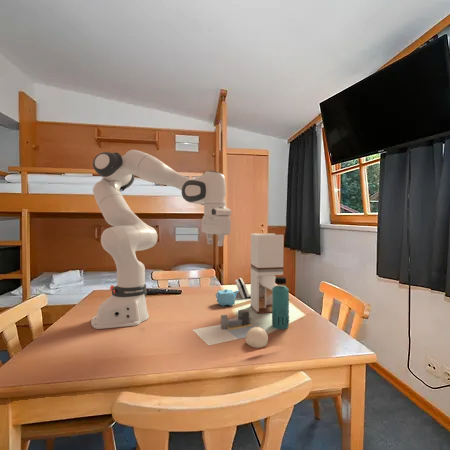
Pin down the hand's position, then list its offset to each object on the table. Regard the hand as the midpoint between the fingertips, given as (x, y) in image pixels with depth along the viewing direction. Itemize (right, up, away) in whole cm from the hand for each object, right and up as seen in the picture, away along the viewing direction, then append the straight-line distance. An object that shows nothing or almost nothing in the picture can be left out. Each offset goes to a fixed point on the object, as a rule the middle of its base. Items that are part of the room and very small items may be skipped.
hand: (214, 245), depth 118 cm
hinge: (+14, -30, +41) cm, 53 cm away
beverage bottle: (+25, -32, -9) cm, 41 cm away
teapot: (+6, -31, +23) cm, 39 cm away
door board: (+5, -32, -14) cm, 35 cm away
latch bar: (+10, -30, -8) cm, 32 cm away
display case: (+23, -31, +11) cm, 40 cm away
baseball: (+14, -32, -24) cm, 43 cm away
